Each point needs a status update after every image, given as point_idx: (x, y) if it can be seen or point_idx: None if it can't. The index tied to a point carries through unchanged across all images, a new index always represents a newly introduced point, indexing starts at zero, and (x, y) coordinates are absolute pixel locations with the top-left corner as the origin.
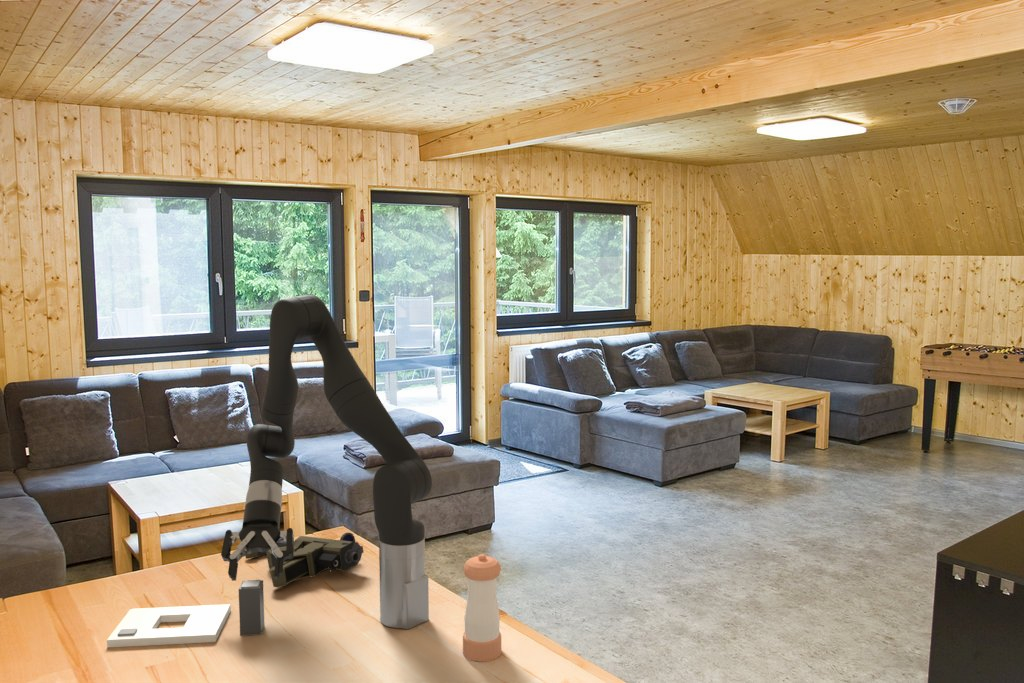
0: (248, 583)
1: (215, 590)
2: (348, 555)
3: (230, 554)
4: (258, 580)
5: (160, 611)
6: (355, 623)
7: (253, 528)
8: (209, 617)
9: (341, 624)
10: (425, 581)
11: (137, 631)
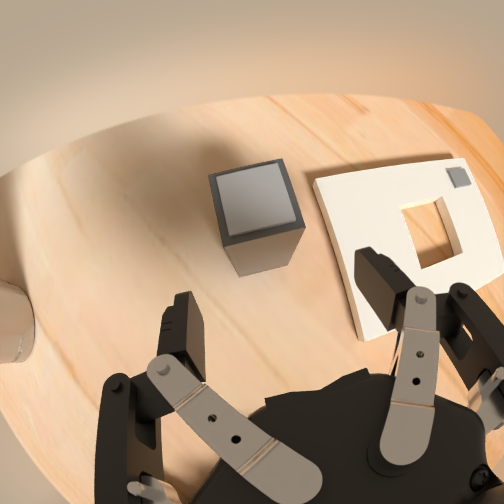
0: (264, 194)
1: None
2: None
3: (439, 311)
4: (235, 227)
5: (471, 270)
6: (62, 305)
7: (415, 499)
8: None
9: (81, 299)
10: None
11: (452, 184)
